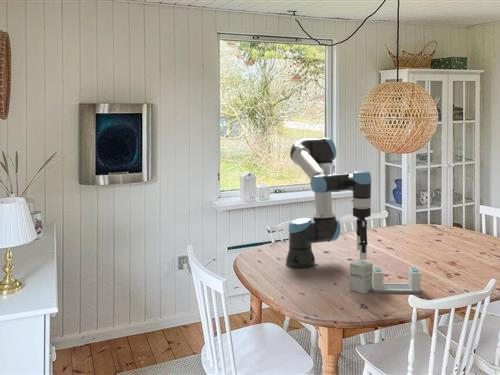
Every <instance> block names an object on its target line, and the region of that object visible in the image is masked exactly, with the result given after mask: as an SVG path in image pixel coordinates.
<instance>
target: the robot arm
mask: <svg viewBox="0 0 500 375" xmlns="http://www.w3.org/2000/svg"><path fill="white" fill-rule="evenodd" d="M289 155H290V160H291V161H292V163H294V164H295V165H297V166H299V167H300V168H301V170H302V171H303V172H304V173H305V175H306V176H307V177H308V178H309V179H310V188H311V191H312V192H313V193H314V206H315V214H314V215H313V216H312V219H311V218H310V217H300V218H295V219H292V220H291V221H290V222H289V224H288V251H287V255H286V259H285V264H286V266H288V265H289V266H288V267H290V266H292V267H291V268H294V267H296V269H306V267H307V268H311V267H314V266H315V265H316V259H315V255H314V252H313V249H312V248H313V246H312V245H313V244H316V243H326V242H327V243H330V242H334V241H337V240H338V239H339V237H340V234H341V222H340V220H339V219H338V218H336V217H337V216H336V215H335V213H333V203H332V193H333V192H344V191H347V192H348V191H350V192H351V191H352V199H351V202H352V206H353V208H352V216H353V217H355V218H356V251H359V260H363V261H367V260H368V257H367V256H368V255H367V254H368V249H367V248H368V247H367V246H368V244H369V243H368V231H367V230H368V229H367V228H368V226H367V224H368V221H367V220H366V218H369V217H371V216H372V213H371V212H372V209H371V206H372V194H371V193H372V176H371V175H372V174H371V172H370V171H367V170H355V171H353V172H343V173H338V174H331V166H332V165H333V160H335V159H336V158H337V148H336V145H335V143H334V140H332V139H331V138H330V137H318V138H317V137H315V138H302V139H299V140H297V141H295V142H294V143H293V144H292V146H291V148H290V152H289Z"/></svg>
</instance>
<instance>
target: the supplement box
mask: <svg viewBox="0 0 500 375" xmlns="http://www.w3.org/2000/svg"><path fill="white" fill-rule="evenodd" d="M372 281H373V262H371V261H367V260H360V258H359V259H356V260H354V261H352V262H350V263H349V290H350V291H354V292H356V293H360V294H362V295H364V294H367V293H369V292H370V291H371V290H372V291H373V289H372Z"/></svg>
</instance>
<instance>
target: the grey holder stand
mask: <svg viewBox="0 0 500 375" xmlns="http://www.w3.org/2000/svg"><path fill="white" fill-rule="evenodd" d="M407 268H408V270H407V271H408V272H407V282H384V271H383V269H382V267H381V266H373V267H372V293H373V294H410V293H412V294H411V295H416V294H417V295H419V294H420V295H422V293H423V292H422V290H421V281H422V280H421V276H422V275H421V271H420V270H419V269H418V267H417V266H408V267H407Z"/></svg>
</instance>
